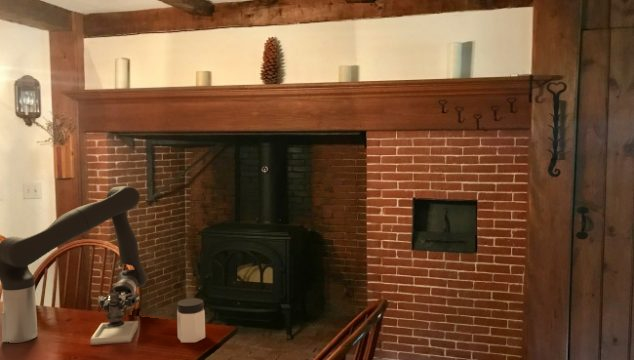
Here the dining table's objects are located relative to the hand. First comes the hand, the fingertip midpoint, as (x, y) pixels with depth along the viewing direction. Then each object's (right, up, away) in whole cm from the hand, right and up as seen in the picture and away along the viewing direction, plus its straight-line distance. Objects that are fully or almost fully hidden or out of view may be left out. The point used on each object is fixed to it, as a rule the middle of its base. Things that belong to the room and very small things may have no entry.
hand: (113, 307), depth 170 cm
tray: (0, -10, +3) cm, 11 cm away
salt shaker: (0, -6, +3) cm, 7 cm away
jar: (+25, -10, +1) cm, 27 cm away
